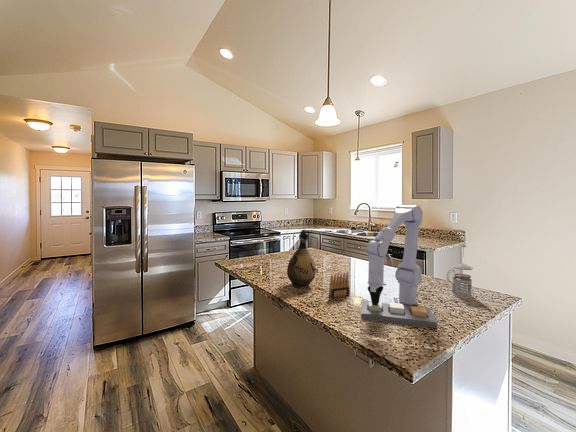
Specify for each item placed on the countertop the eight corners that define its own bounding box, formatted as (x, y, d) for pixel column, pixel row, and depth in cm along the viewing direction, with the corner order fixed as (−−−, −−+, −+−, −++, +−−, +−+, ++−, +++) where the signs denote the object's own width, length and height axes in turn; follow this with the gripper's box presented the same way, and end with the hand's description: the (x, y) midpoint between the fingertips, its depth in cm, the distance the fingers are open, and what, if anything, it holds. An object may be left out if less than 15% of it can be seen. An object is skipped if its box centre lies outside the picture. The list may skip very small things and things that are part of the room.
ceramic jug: (316, 290, 144) (317, 232, 142) (286, 289, 144) (287, 231, 142) (314, 280, 161) (315, 228, 159) (287, 280, 161) (287, 228, 159)
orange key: (410, 313, 111) (411, 306, 111) (424, 315, 110) (424, 307, 109) (412, 318, 106) (412, 310, 106) (427, 320, 105) (427, 312, 105)
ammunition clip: (347, 295, 136) (347, 271, 135) (349, 297, 134) (350, 272, 133) (328, 299, 131) (329, 273, 130) (330, 300, 129) (331, 274, 129)
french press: (477, 299, 132) (479, 246, 131) (450, 297, 135) (452, 245, 133) (468, 292, 142) (470, 243, 141) (443, 290, 144) (445, 242, 143)
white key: (389, 309, 113) (389, 302, 113) (402, 311, 112) (402, 304, 112) (390, 314, 109) (390, 307, 108) (403, 316, 107) (404, 308, 107)
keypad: (362, 307, 121) (362, 300, 121) (429, 315, 113) (429, 307, 113) (361, 321, 107) (361, 313, 107) (436, 330, 100) (437, 322, 100)
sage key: (368, 308, 116) (368, 301, 116) (381, 310, 114) (381, 303, 114) (368, 313, 111) (368, 306, 111) (381, 315, 109) (382, 307, 109)
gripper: (384, 276, 103) (383, 312, 104) (388, 268, 117) (387, 300, 117) (365, 274, 106) (364, 309, 107) (370, 266, 119) (370, 297, 120)
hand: (375, 304), depth 112 cm, fingers closed, pressing on sage key
